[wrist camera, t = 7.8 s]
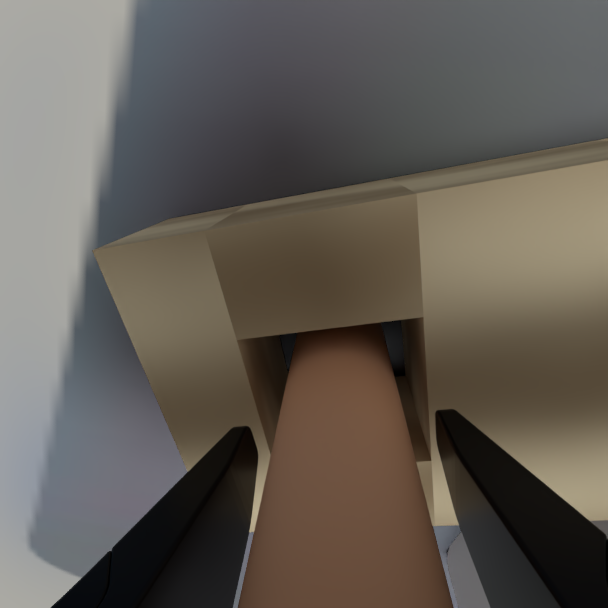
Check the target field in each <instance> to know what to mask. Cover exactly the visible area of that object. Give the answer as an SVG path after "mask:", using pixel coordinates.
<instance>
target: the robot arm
mask: <svg viewBox="0 0 608 608" xmlns="http://www.w3.org/2000/svg"><path fill="white" fill-rule="evenodd" d="M435 425H436V441H437V447H438V451H439V454H440V458H441V462H442V466H443V470H444V474H445V477H446V481H447V485H448V489H449V493H450V497H451V500H452V504H453V508H454V511H455V515H456V518H457V521H458V524H459V526H460V529H461V532H462V534H463V537H464V540H465V542H466V545H467V548H468V550H469V553H470V555H471V558H472V561H473V563H474V566H475V569H476V571H477V574H478V576H479V579H480V582H481V584H482V587H483V590H484V592H485V595H486V597H487V600H488V603H489V605H490V608H608V539H607V536H606V534H605V533H604V532H603V531H601V530H600V529H599V528H598V527H597V526H595V525H594V524H593V523H592V522H590V521H589V520H588V519H587V518H586V517H584V516H583V515H582V514H581V513H580V512H578V511H577V510H576V509H575V508H574V507H572V506H571V505H570V504H569V503H568V502H566V501H565V500H564V499H563V498H562V497H560V496H559V495H558V494H557V493H555V492H554V491H553V490H552V489H551V488H549V487H548V486H547V485H546V484H545V483H543V482H542V481H541V480H540V479H539V478H537V477H536V476H535V475H534V474H533V473H531V472H530V471H529V470H528V469H526V468H525V467H524V466H523V465H522V464H520V463H519V462H518V461H517V460H516V459H514V458H513V457H512V456H511V455H510V454H508V453H507V452H506V451H505V450H504V449H502V448H501V447H500V446H499V445H498V444H496V443H495V442H494V441H493V440H491V439H490V438H489V437H488V436H487V435H485V434H484V433H483V432H482V431H481V430H479V429H478V428H477V427H476V426H475V425H473V424H472V423H471V422H470V421H469V420H467V419H466V418H465V417H464V416H462V415H461V414H460V413H459V412H458V411H456V410H454V409H444V410H437V411H436V413H435ZM257 467H258V450H257V446H256V443H255V440H254V437H253V434H252V431H251V428H250V427H249V426H237V427H233V428H231V429H230V430H229V431H228V432H227V433H226V434H225V435H224V436H223V437H222V438H221V439H220V440H219V441H218V442H217V443H216V444H215V445H214V446H213V447H212V448H211V449H210V450H209V451H208V452H207V453H206V454H205V455H204V456H203V457H202V458H201V459H200V460H199V461H198V462H197V463H196V464H195V465H194V466H193V467H192V468H191V469H190V470H189V471H188V472H187V473H186V474H185V475H184V476H183V477H182V478H181V479H180V480H179V481H178V482H177V483H176V484H175V485H174V486H173V487H172V488H171V489H170V490H169V491H168V492H167V493H166V494H165V495H164V496H163V497H162V498H161V499H160V500H159V501H158V502H157V503H156V504H155V505H154V506H153V507H152V508H151V509H150V510H149V511H148V513H147V514H146V515H145V516H144V517H143V518H142V519H141V520H140V521H139V522H138V523H137V524H136V525H135V526H134V527H133V528H132V529H131V530H130V531H129V532H128V533H127V534H126V535H125V536H124V537H123V538H122V539H121V540H120V541H119V542H118V543H117V544H116V545H115V546H114V547H113V548H112V551H109V552H108V553H107V554H106V555H105V556H104V557H103V558H102V559H101V560H100V561H99V562H98V563H97V564H96V565H95V566H94V567H93V568H92V569H91V570H90V571H88V572H87V573H86V574H85V575H84V576H83V577H82V578H81V579H80V580H79V581H78V582H77V583H76V584H75V585H74V586H73V587H72V588H71V589H70V590H69V591H68V592H67V593H66V594H65V595H64V596H63V597H62V598H61V599H60V600H58V601H57V602H56V603H55V604H54V605H53V606H52V607H51V608H233V604H234V599H235V594H236V590H237V585H238V581H239V576H240V572H241V567H242V563H243V558H244V554H245V549H246V545H247V540H248V536H249V530H250V525H251V518H252V511H253V502H254V493H255V485H256V476H257Z"/></svg>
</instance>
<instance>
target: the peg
mask: <svg viewBox="0 0 608 608" xmlns="http://www.w3.org/2000/svg"><path fill="white" fill-rule="evenodd" d="M238 608H453V604H452V600H451V596H450V592H449V588H448V584H447V580H446V576H445V572H444V569H443V565H442V561H441V557H440V553H439V549H438V545H437V541H436V537H435V533H434V529H433V525H432V522H431V518H430V514H429V510H428V506H427V502H426V498H425V494H424V490H423V486H422V482H421V478H420V474H419V471H418V467H417V463H416V459H415V455H414V451H413V447H412V443H411V439H410V435H409V431H408V427H407V423H406V420H405V416H404V412H403V408H402V404H401V400H400V396H399V392H398V388H397V384H396V380H395V376H394V373H393V369H392V365H391V361H390V357H389V353H388V349H387V345H386V341H385V337H384V333H383V329H382V325H381V322H380V323H371V324H363V325H355V326H347V327H339V328H330V329H322V330H314V331H306V332H298V333H297V336H296V341H295V345H294V350H293V354H292V359H291V364H290V368H289V373H288V378H287V382H286V387H285V391H284V396H283V401H282V405H281V410H280V415H279V419H278V424H277V429H276V433H275V438H274V442H273V447H272V452H271V456H270V461H269V466H268V470H267V475H266V480H265V484H264V489H263V493H262V498H261V503H260V507H259V512H258V517H257V521H256V526H255V530H254V535H253V540H252V544H251V549H250V554H249V558H248V563H247V568H246V572H245V577H244V581H243V586H242V591H241V595H240V600H239V605H238Z"/></svg>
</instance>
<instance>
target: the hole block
mask: <svg viewBox="0 0 608 608" xmlns="http://www.w3.org/2000/svg"><path fill="white" fill-rule="evenodd" d="M92 251H93V253H94V256H95V258H96V260H97V262H98V265H99V267H100V269H101V272H102V274H103V276H104V279H105V281H106V283H107V286H108V288H109V290H110V293H111V295H112V297H113V300H114V302H115V304H116V306H117V309H118V311H119V313H120V316H121V318H122V320H123V323H124V325H125V327H126V330H127V332H128V334H129V337H130V339H131V341H132V344H133V346H134V348H135V350H136V353H137V355H138V357H139V360H140V362H141V364H142V367H143V369H144V371H145V374H146V376H147V378H148V381H149V383H150V385H151V388H152V390H153V392H154V394H155V397H156V399H157V401H158V404H159V406H160V408H161V411H162V413H163V415H164V418H165V420H166V422H167V425H168V427H169V429H170V432H171V434H172V436H173V439H174V441H175V443H176V445H177V448H178V450H179V452H180V455H181V457H182V459H183V462H184V464H185V466H186V469H187V471H189V470H190V469H191V468H192V467H193V466H194V465H195V464H196V463H197V462H198V461H199V460H200V459H201V458H202V457H203V456H204V455H205V454H206V453H207V452H208V451H209V450H210V449H211V448H212V447H213V446H214V445H215V444H216V443H217V442H218V441H219V440H220V439H221V438H222V437H223V436H224V435H225V434H226V433H227V432H228V431H229V430H230V429H231V428H233V427H237V426H249V427H250V428H251V431H252V434H253V437H254V440H255V443H256V446H257V450H258V467H257V476H256V485H255V493H254V502H253V511H252V518H251V525H250V530H249V532H254V530H255V526H256V521H257V517H258V512H259V507H260V503H261V498H262V493H263V489H264V484H265V480H266V475H267V470H268V466H269V461H270V456H271V452H272V447H273V442H274V438H275V433H276V429H277V424H278V419H279V415H280V410H281V405H282V401H283V396H284V391H285V387H286V382H287V378H288V371H287V367H286V363H285V359H284V354H283V350H282V346H281V342H280V338H279V335H281V334H290V333H298V332H306V331H314V330H322V329H330V328H339V327H347V326H355V325H363V324H371V323H380V322H388V321H396V320H401V326H402V338H403V350H404V362H405V374H406V376H399V377H395V380H396V384H397V388H398V392H399V396H400V400H401V404H402V408H403V412H404V416H405V420H406V423H407V427H408V431H409V435H410V439H411V443H412V447H413V451H414V455H415V459H416V463H417V467H418V471H419V474H420V478H421V482H422V486H423V490H424V494H425V498H426V502H427V506H428V510H429V514H430V518H431V522H432V525H433V526H450V525H459V524H458V521H457V518H456V515H455V511H454V508H453V504H452V500H451V497H450V493H449V489H448V485H447V481H446V477H445V474H444V470H443V466H442V462H441V458H440V454H439V451H438V447H437V441H436V425H435V413H436V411H437V410H444V409H454V410H456V411H458V412H459V413H460V414H461V415H462V416H464V417H465V418H466V419H467V420H469V421H470V422H471V423H472V424H473V425H475V426H476V427H477V428H478V429H479V430H481V431H482V432H483V433H484V434H485V435H487V436H488V437H489V438H490V439H491V440H493V441H494V442H495V443H496V444H498V445H499V446H500V447H501V448H502V449H504V450H505V451H506V452H507V453H508V454H510V455H511V456H512V457H513V458H514V459H516V460H517V461H518V462H519V463H520V464H522V465H523V466H524V467H525V468H526V469H528V470H529V471H530V472H531V473H533V474H534V475H535V476H536V477H537V478H539V479H540V480H541V481H542V482H543V483H545V484H546V485H547V486H548V487H549V488H551V489H552V490H553V491H554V492H555V493H557V494H558V495H559V496H560V497H562V498H563V499H564V500H565V501H566V502H568V503H569V504H570V505H571V506H572V507H574V508H575V509H576V510H577V511H578V512H580V513H581V514H582V515H583V516H584V517H586V518H587V519H588V520H589V521H599V520H608V138H606V139H600V140H595V141H590V142H584V143H579V144H573V145H568V146H562V147H557V148H552V149H546V150H541V151H535V152H530V153H524V154H519V155H513V156H508V157H503V158H497V159H492V160H486V161H481V162H475V163H470V164H465V165H459V166H454V167H448V168H443V169H437V170H432V171H426V172H421V173H416V174H410V175H405V176H399V177H394V178H388V179H383V180H377V181H372V182H367V183H361V184H356V185H350V186H345V187H339V188H334V189H329V190H323V191H318V192H312V193H307V194H301V195H296V196H290V197H285V198H280V199H274V200H269V201H263V202H258V203H252V204H247V205H241V206H236V207H231V208H225V209H220V210H214V211H209V212H203V213H198V214H193V215H187V216H182V217H176V218H171V219H167V220H165V221H162V222H160V223H158V224H155V225H153V226H150V227H148V228H145V229H143V230H141V231H138V232H136V233H133V234H131V235H129V236H126V237H124V238H121V239H119V240H116V241H114V242H112V243H109V244H107V245H104V246H102V247H99V248H97V249H95V250H92Z"/></svg>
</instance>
